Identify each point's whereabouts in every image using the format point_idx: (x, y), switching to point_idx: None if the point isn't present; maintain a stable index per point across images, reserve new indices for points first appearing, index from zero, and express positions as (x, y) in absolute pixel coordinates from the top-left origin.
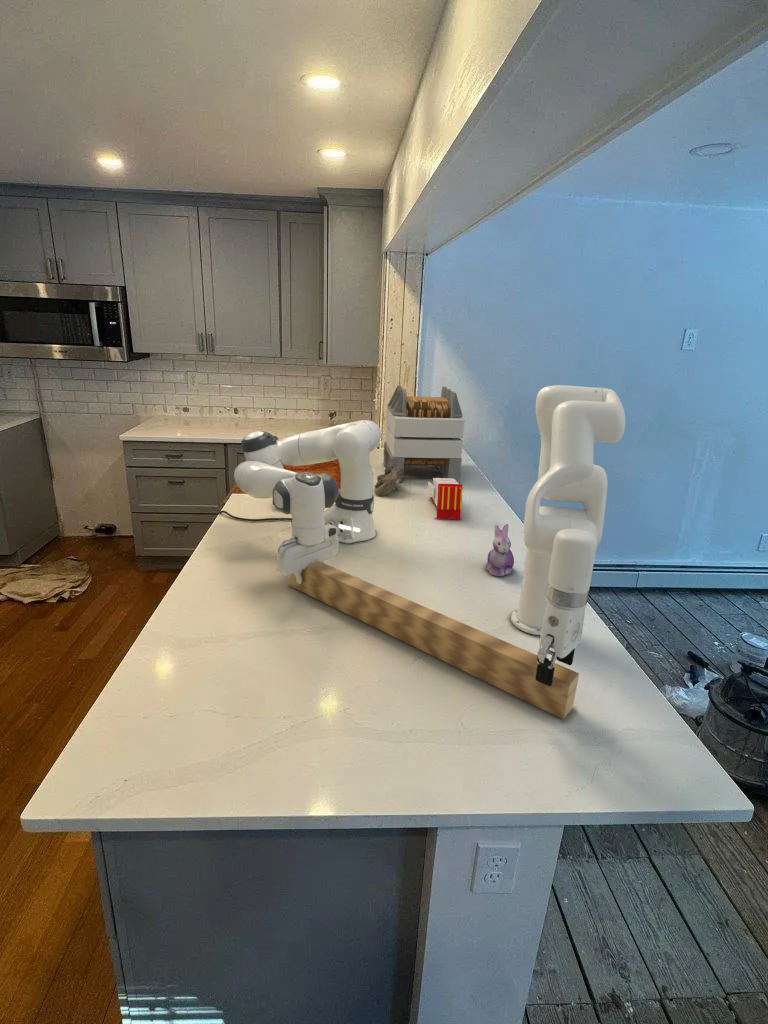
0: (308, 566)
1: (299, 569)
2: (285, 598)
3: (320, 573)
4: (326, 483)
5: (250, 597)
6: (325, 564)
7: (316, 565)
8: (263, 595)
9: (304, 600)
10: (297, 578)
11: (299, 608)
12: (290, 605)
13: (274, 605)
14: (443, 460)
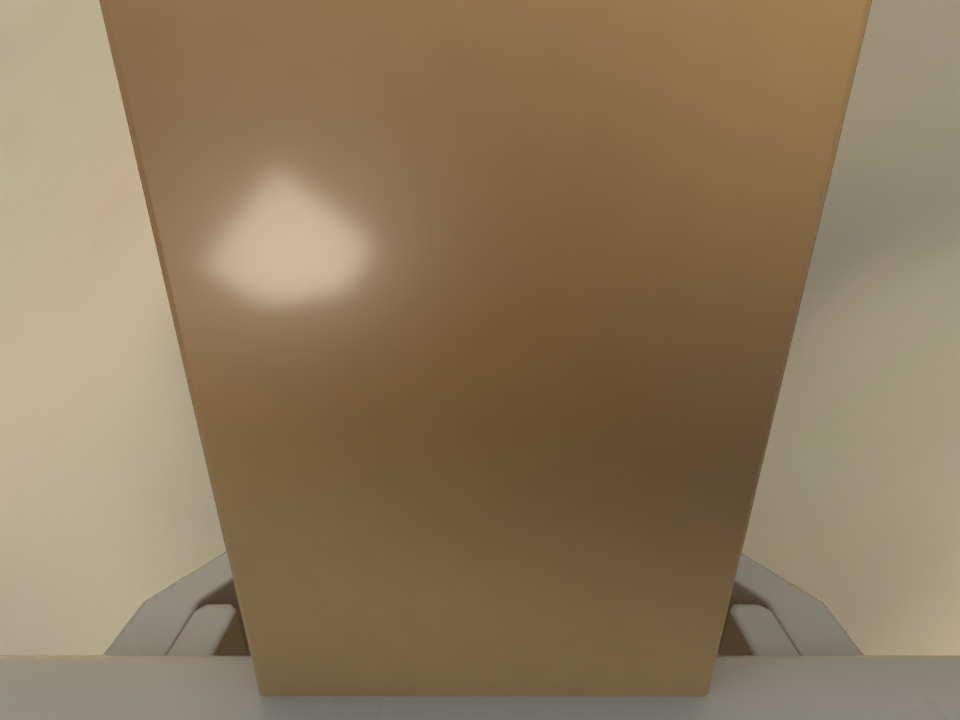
0: (697, 660)
1: (957, 685)
2: (770, 448)
3: (817, 109)
4: None
5: (915, 638)
6: (231, 453)
7: (497, 576)
8: (831, 601)
9: None
10: None
11: (877, 190)
12: (867, 313)
13: (945, 421)
14: None
